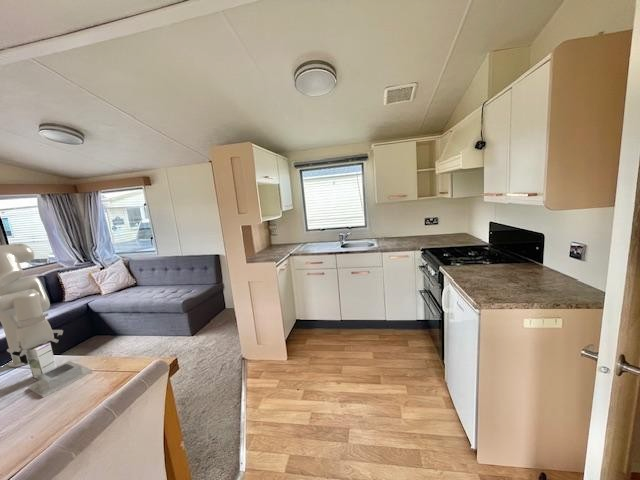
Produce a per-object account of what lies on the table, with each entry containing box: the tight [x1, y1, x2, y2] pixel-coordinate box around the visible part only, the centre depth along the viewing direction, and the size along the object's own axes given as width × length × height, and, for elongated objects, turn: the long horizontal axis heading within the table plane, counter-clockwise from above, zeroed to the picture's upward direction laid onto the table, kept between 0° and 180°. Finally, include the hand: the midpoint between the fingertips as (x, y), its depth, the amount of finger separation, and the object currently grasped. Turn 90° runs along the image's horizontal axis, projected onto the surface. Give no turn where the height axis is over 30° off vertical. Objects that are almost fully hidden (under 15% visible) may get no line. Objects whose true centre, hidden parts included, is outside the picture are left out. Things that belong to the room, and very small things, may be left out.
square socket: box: [27, 360, 93, 398], centre depth 110 cm, size 14×16×4 cm
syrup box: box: [26, 341, 57, 379], centre depth 114 cm, size 6×6×14 cm
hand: (41, 356), depth 113 cm, fingers open, 9 cm apart
